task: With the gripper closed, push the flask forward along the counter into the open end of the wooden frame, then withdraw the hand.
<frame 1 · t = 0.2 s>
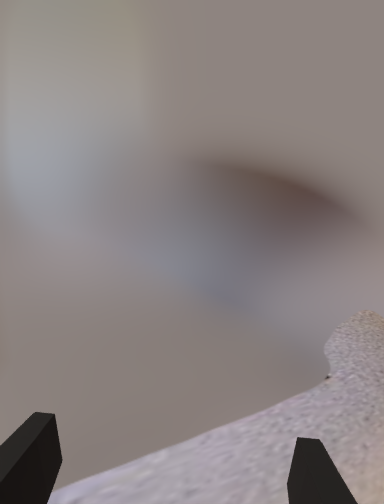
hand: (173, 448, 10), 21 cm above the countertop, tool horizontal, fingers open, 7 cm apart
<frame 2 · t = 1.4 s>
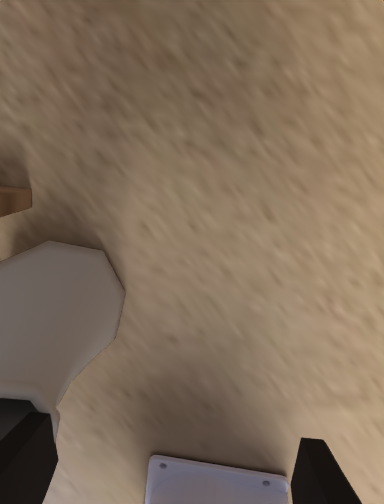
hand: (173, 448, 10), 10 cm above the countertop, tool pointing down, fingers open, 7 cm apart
flask: (62, 298, 19), point 1 cm above the countertop, touching gripper
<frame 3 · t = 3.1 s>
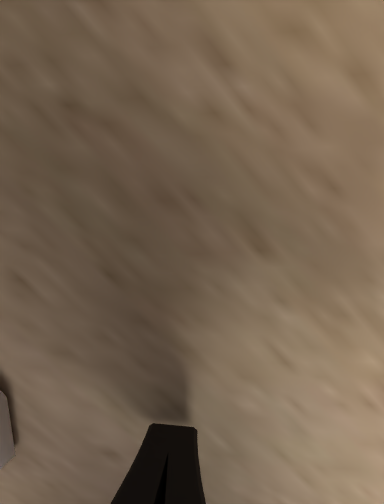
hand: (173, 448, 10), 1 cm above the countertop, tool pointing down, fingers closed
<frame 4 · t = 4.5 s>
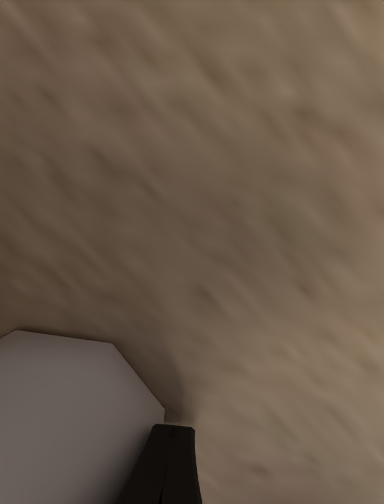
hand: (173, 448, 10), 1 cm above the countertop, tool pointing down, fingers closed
flask: (65, 408, 12), on the countertop, touching gripper
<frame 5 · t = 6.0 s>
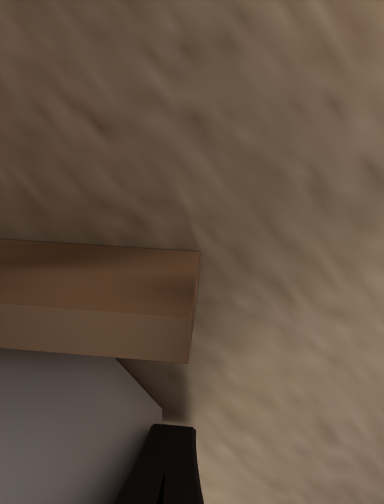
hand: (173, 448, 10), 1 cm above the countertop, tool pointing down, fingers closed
flask: (65, 413, 12), on the countertop, touching gripper
wooden frame: (42, 407, 11), on the countertop
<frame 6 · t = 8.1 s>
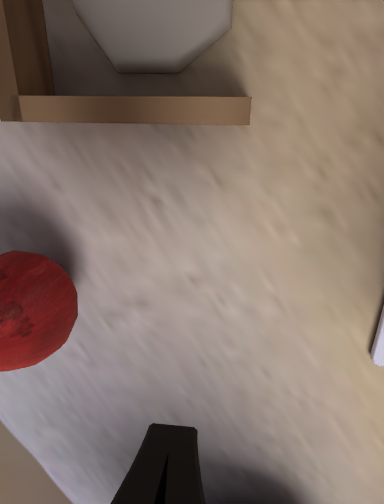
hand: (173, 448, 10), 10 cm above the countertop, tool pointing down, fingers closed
onion: (55, 275, 21), on the countertop
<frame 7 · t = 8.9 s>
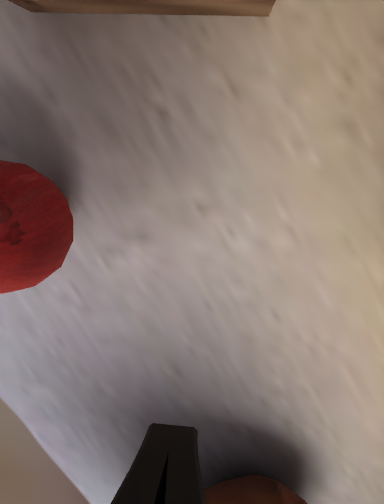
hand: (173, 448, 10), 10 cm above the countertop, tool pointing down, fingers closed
butternut squash: (243, 495, 27), on the countertop
onion: (47, 205, 19), on the countertop
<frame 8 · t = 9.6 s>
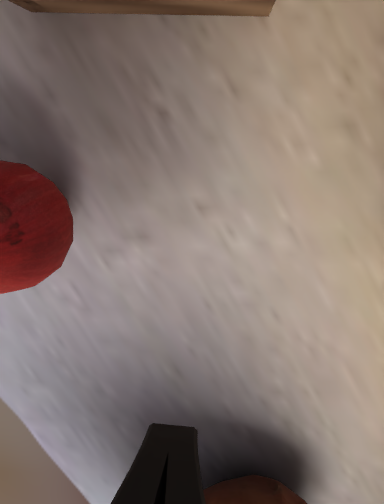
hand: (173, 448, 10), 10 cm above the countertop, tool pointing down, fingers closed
butternut squash: (243, 495, 27), on the countertop
onion: (47, 205, 19), on the countertop
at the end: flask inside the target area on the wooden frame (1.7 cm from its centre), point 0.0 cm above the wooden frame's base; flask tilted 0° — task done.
